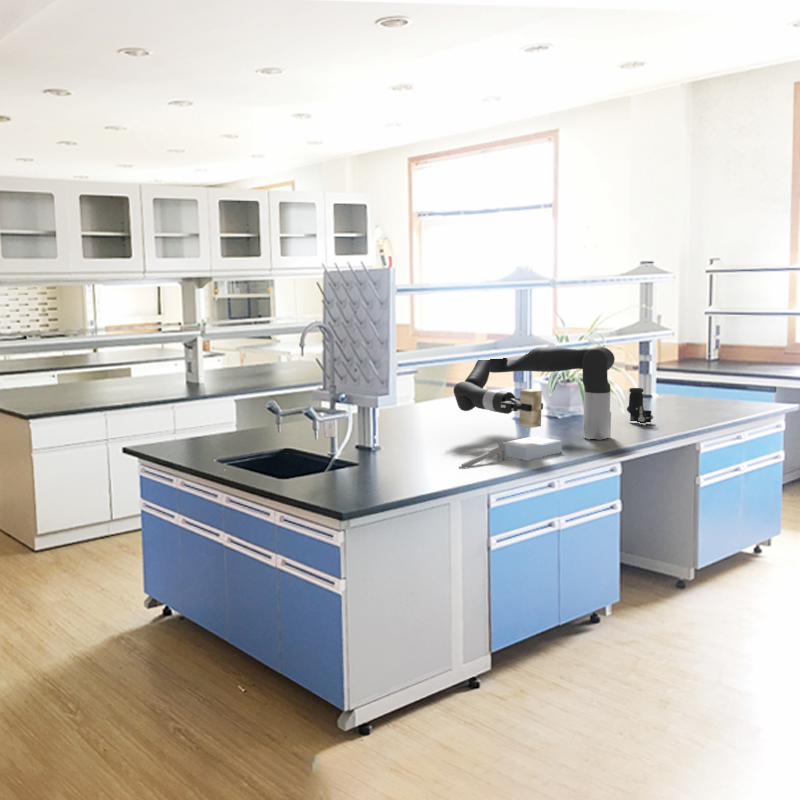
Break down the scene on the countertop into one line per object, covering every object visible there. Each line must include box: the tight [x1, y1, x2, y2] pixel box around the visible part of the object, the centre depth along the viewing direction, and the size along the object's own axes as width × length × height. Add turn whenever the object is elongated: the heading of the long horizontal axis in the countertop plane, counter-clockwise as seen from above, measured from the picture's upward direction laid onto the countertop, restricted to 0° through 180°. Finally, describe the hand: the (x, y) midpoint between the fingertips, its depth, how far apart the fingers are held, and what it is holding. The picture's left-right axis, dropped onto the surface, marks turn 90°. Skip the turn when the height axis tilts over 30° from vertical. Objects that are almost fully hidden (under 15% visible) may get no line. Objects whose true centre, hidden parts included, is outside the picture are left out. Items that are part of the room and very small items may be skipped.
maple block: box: [519, 388, 543, 429], centre depth 282 cm, size 5×5×12 cm
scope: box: [626, 387, 654, 423], centre depth 338 cm, size 8×14×10 cm
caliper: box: [458, 440, 507, 469], centre depth 270 cm, size 20×1×6 cm, turn 130°
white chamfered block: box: [501, 435, 563, 461], centre depth 284 cm, size 18×12×4 cm, turn 131°
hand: (536, 407), depth 280 cm, fingers closed on maple block, 5 cm apart
